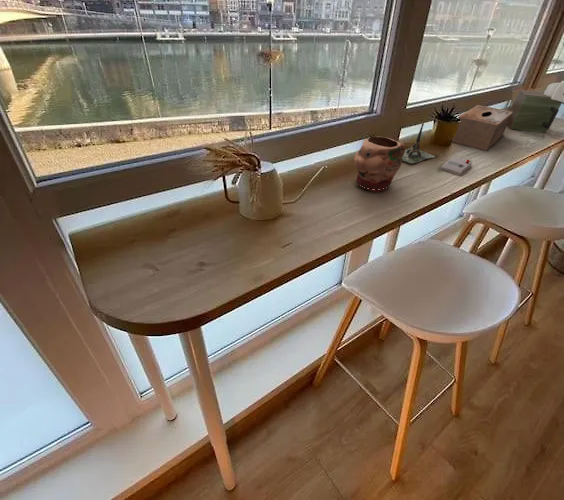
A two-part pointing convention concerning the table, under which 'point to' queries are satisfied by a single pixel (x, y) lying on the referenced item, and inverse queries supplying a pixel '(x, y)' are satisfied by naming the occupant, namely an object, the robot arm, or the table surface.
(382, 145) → the decorative planter
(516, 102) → the green door cabinet
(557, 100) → the robot arm
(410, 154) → the eiffel tower figurine
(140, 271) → the table surface
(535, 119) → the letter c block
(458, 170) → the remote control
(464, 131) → the tissue box cover
